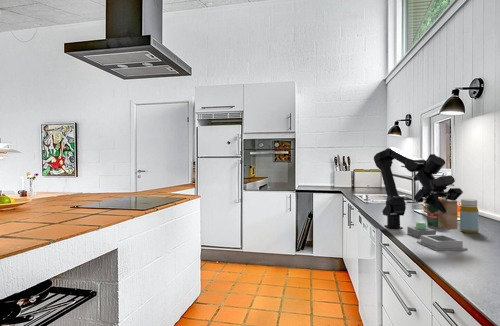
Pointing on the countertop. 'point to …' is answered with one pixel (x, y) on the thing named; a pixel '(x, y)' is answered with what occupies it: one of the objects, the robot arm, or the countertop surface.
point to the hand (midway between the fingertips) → (450, 212)
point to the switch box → (420, 231)
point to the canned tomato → (432, 216)
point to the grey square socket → (441, 242)
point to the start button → (421, 225)
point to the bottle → (469, 216)
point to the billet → (448, 215)
